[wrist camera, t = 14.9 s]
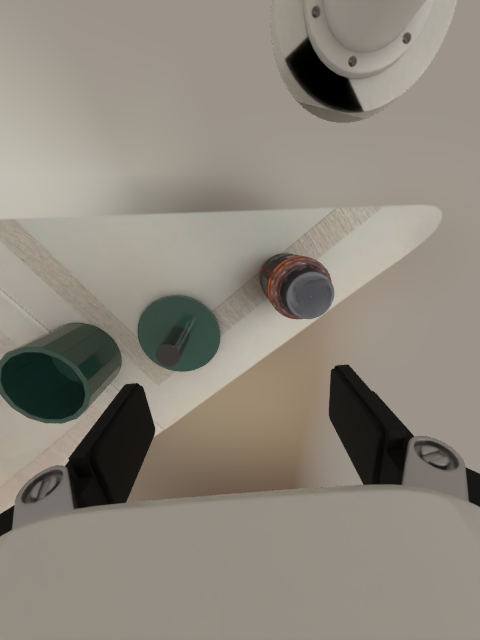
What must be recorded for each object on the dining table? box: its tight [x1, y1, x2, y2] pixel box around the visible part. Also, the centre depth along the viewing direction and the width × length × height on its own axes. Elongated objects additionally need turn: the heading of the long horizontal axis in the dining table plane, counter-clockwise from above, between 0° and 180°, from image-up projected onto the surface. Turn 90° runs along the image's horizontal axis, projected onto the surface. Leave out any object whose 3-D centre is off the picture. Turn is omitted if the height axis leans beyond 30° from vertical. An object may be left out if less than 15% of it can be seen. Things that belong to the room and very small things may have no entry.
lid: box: [138, 295, 220, 371], centre depth 28 cm, size 11×11×7 cm
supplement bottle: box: [260, 254, 334, 319], centre depth 24 cm, size 6×6×11 cm
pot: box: [0, 323, 121, 423], centre depth 28 cm, size 10×10×8 cm
